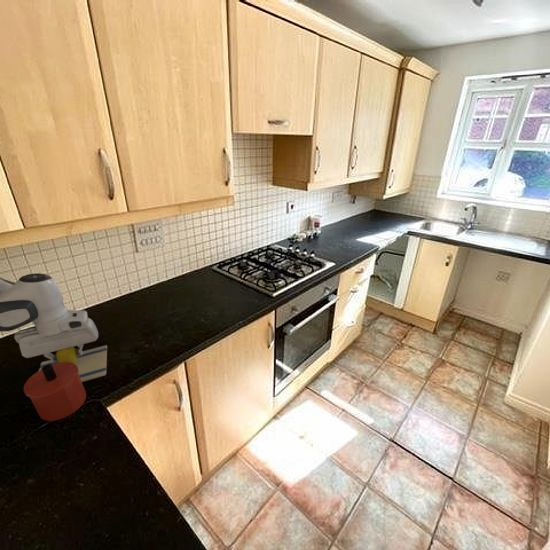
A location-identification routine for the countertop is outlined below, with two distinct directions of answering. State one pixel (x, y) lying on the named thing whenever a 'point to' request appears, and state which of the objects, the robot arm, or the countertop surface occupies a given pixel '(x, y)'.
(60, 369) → the pot lid
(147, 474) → the countertop surface
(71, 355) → the lemon
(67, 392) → the pot
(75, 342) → the robot arm
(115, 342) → the countertop surface
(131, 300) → the countertop surface
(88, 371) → the towel
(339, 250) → the countertop surface
